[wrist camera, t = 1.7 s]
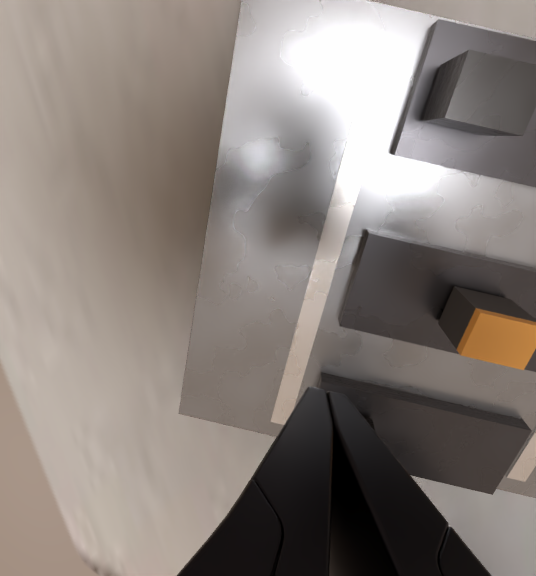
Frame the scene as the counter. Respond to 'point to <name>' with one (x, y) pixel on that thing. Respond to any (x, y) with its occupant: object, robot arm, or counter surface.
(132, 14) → the counter surface
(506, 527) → the counter surface
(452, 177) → the breaker panel
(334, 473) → the robot arm
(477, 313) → the block
